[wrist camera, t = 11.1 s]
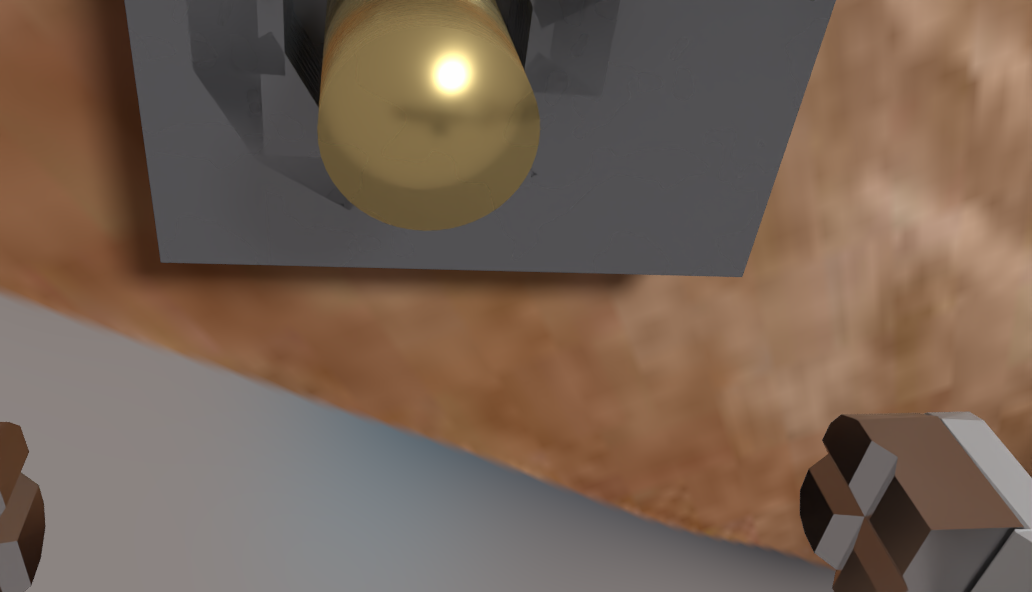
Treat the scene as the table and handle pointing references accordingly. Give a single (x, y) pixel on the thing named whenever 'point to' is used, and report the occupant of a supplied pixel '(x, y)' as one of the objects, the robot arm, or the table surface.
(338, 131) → the peg
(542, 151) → the jig
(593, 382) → the table surface
